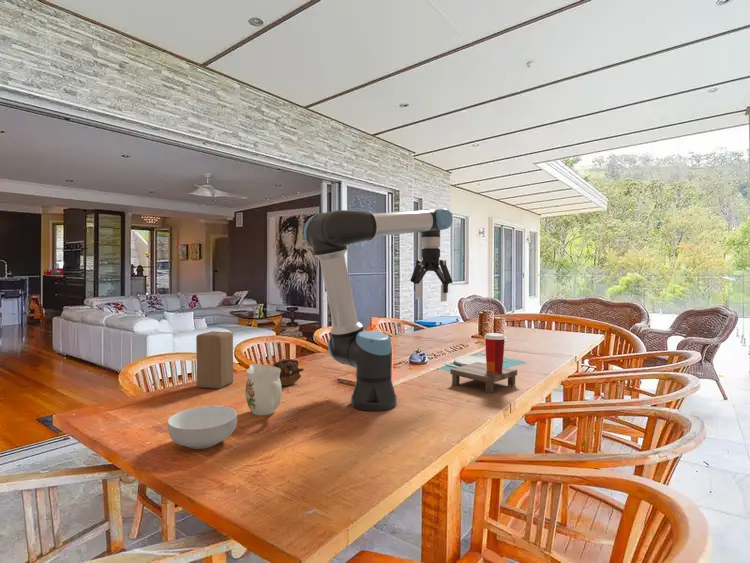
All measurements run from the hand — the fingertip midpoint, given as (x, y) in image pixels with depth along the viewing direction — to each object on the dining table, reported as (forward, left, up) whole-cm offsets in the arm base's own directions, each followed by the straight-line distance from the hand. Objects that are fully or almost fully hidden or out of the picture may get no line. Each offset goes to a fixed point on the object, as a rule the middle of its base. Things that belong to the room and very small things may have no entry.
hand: (430, 300), depth 178 cm
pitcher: (-71, +6, -32) cm, 78 cm away
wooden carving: (-50, +29, -32) cm, 66 cm away
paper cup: (+7, -25, -26) cm, 37 cm away
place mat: (+36, +3, -33) cm, 49 cm away
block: (-70, +47, -32) cm, 90 cm away
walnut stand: (+7, -21, -32) cm, 39 cm away
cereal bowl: (-94, -4, -32) cm, 99 cm away
